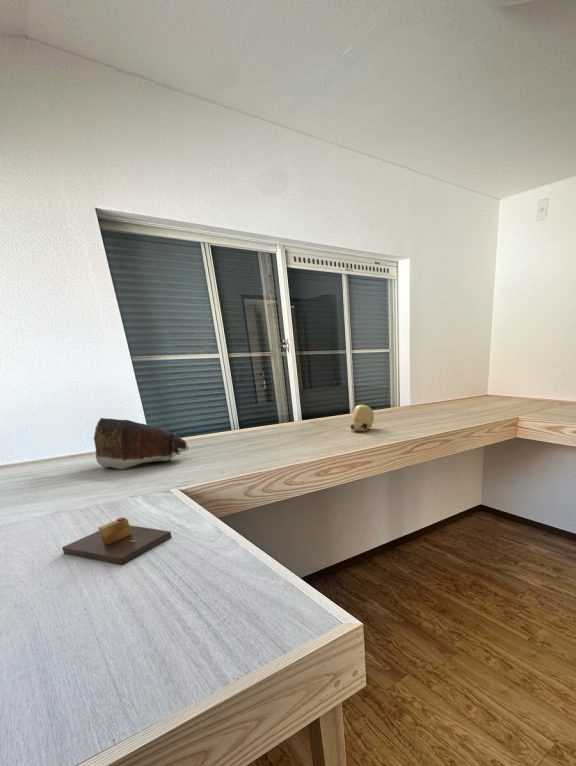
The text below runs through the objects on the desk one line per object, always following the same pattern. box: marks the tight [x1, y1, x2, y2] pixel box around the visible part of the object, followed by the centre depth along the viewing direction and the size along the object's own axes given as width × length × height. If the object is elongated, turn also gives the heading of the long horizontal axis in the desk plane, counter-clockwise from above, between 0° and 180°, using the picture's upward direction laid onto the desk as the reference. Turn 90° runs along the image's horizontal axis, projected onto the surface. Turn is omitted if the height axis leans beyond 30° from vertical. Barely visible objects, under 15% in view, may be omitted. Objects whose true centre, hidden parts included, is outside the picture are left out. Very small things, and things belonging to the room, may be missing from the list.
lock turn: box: [98, 516, 132, 545], centre depth 76 cm, size 5×1×3 cm, turn 155°
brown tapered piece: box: [93, 417, 190, 470], centre depth 133 cm, size 15×15×25 cm
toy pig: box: [350, 404, 375, 433], centre depth 176 cm, size 10×12×11 cm
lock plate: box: [61, 524, 173, 566], centre depth 77 cm, size 14×11×3 cm
